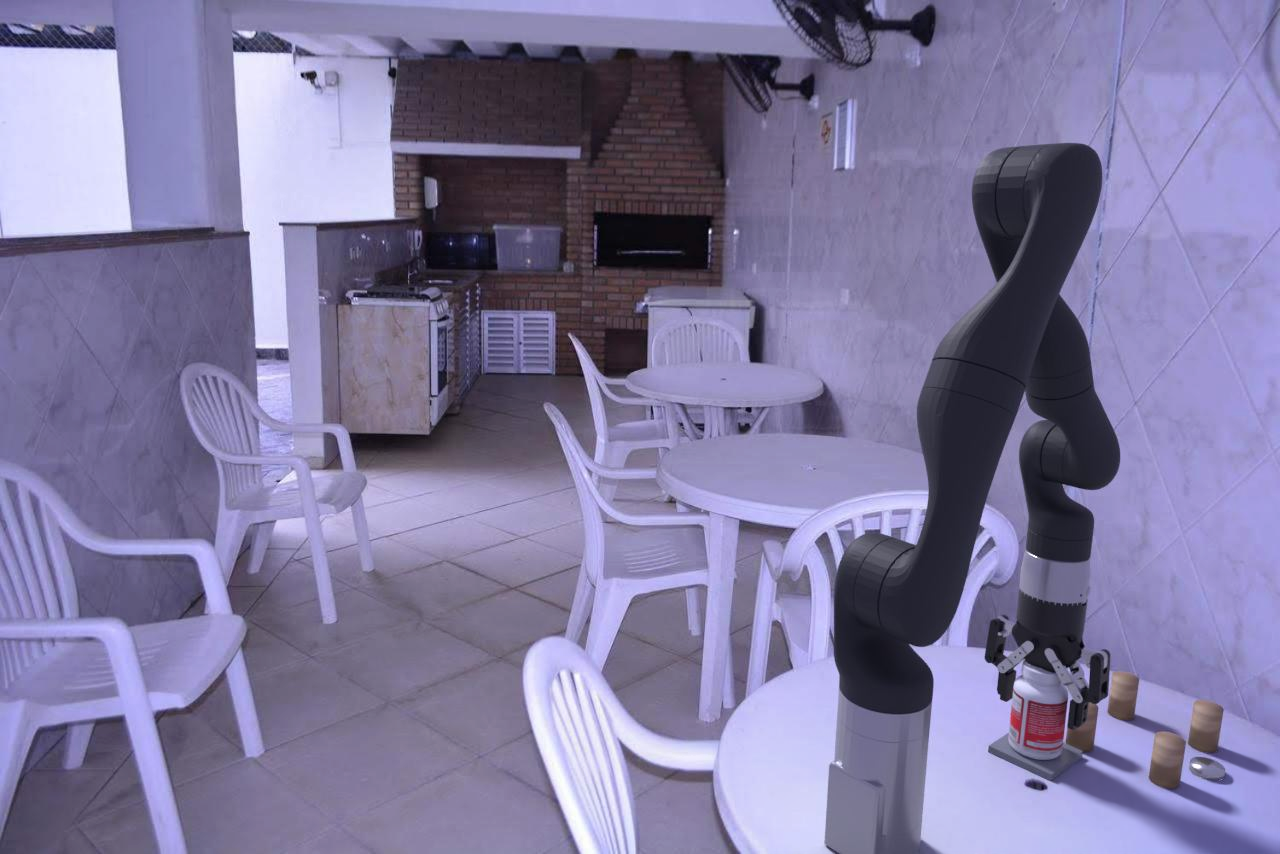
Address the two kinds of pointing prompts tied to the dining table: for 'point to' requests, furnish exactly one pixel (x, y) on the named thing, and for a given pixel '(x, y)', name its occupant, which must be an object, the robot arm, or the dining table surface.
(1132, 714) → the cylinder
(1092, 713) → the cylinder
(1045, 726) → the pill bottle
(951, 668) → the dining table surface
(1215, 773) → the shiny metal disc
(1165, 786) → the cylinder
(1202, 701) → the cylinder
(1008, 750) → the slate coaster
